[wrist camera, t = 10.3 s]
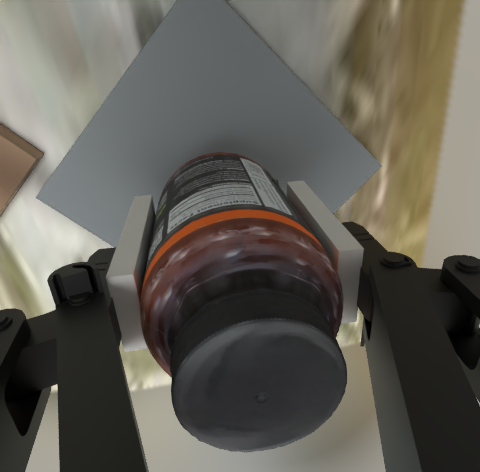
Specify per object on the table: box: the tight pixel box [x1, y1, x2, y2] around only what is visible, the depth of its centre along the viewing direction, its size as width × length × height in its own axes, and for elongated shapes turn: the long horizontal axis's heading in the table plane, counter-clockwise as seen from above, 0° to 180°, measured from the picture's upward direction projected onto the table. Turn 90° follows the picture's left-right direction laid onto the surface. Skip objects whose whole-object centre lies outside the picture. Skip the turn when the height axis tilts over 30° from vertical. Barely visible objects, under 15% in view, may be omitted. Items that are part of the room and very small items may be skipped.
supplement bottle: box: [140, 152, 347, 452], centre depth 13 cm, size 6×6×11 cm
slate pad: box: [36, 0, 382, 248], centre depth 22 cm, size 14×14×1 cm
